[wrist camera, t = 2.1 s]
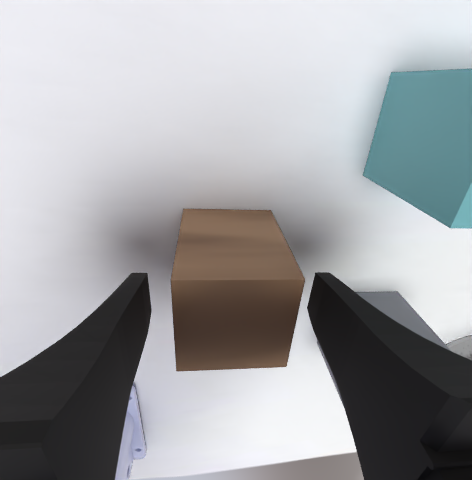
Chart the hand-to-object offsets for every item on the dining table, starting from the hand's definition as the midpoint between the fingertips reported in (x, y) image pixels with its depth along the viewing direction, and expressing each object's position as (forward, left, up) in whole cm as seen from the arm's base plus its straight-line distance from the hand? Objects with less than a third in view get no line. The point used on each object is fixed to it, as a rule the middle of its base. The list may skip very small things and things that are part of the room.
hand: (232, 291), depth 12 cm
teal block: (+6, -9, -4) cm, 12 cm away
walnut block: (0, 0, -4) cm, 4 cm away
